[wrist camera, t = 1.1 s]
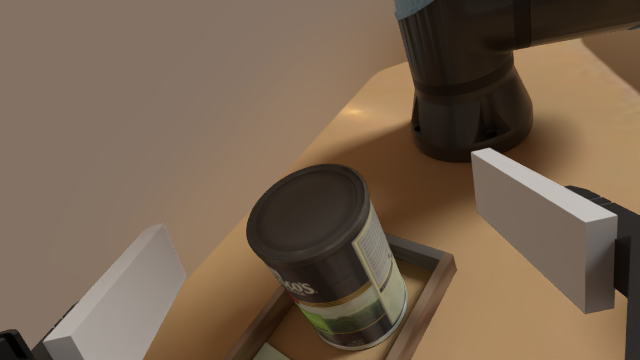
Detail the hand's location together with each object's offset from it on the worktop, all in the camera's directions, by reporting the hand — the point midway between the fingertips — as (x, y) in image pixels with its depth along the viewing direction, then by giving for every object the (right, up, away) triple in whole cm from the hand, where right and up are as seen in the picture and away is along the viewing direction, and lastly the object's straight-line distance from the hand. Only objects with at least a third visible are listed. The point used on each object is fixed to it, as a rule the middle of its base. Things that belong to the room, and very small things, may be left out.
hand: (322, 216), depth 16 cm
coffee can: (+4, -11, +22) cm, 25 cm away
